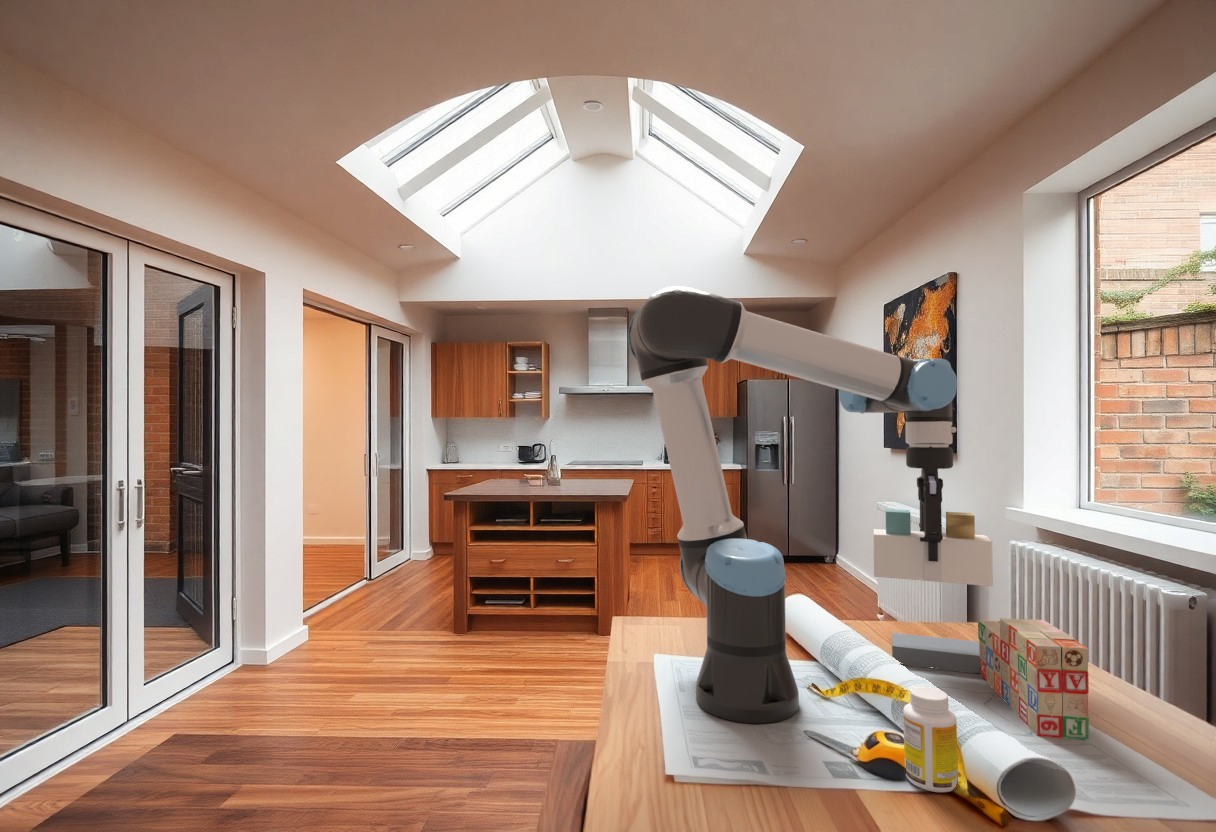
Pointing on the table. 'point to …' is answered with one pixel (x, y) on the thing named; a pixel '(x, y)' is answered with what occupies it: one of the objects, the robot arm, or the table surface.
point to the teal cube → (898, 522)
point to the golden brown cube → (960, 525)
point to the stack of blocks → (1037, 674)
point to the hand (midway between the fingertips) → (930, 574)
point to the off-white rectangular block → (958, 558)
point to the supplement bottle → (930, 740)
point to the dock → (936, 652)
